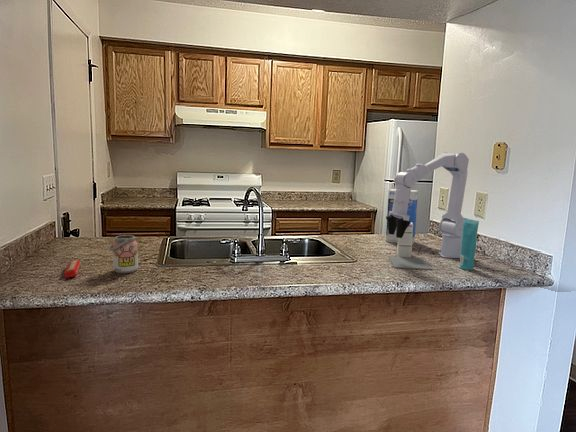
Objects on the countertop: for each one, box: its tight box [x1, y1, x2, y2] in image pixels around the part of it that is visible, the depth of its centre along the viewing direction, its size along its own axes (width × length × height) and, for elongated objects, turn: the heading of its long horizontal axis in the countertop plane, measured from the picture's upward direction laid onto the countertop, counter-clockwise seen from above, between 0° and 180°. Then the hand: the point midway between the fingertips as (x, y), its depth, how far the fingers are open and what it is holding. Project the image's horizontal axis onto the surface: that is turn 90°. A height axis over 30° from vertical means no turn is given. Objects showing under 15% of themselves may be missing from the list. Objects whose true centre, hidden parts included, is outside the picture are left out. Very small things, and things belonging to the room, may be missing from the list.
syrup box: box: [396, 222, 413, 257], centre depth 171 cm, size 6×6×14 cm
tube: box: [459, 217, 480, 271], centre depth 154 cm, size 7×5×19 cm, turn 26°
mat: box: [388, 255, 433, 271], centre depth 161 cm, size 14×16×1 cm
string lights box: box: [385, 188, 419, 245], centre depth 198 cm, size 13×8×26 cm, turn 66°
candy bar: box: [63, 259, 81, 279], centre depth 138 cm, size 16×4×3 cm, turn 22°
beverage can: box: [108, 234, 139, 274], centre depth 140 cm, size 9×8×12 cm
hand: (395, 235), depth 161 cm, fingers open, 7 cm apart
